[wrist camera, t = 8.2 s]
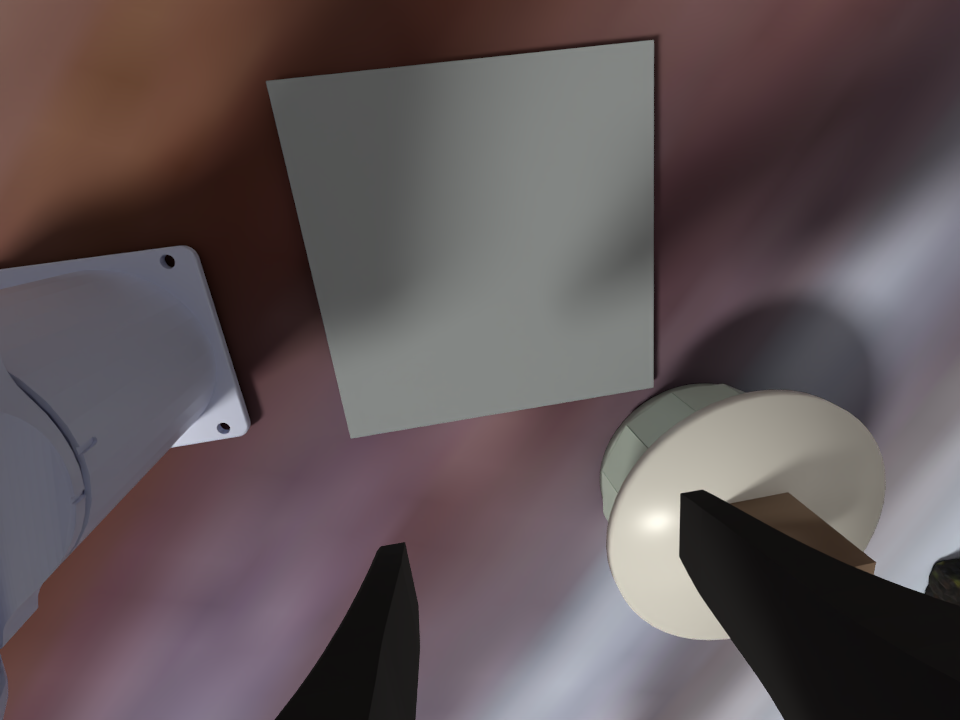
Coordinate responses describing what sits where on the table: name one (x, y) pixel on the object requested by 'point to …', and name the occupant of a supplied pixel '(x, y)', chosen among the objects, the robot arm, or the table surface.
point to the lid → (744, 494)
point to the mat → (478, 229)
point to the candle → (945, 581)
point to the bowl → (651, 431)
